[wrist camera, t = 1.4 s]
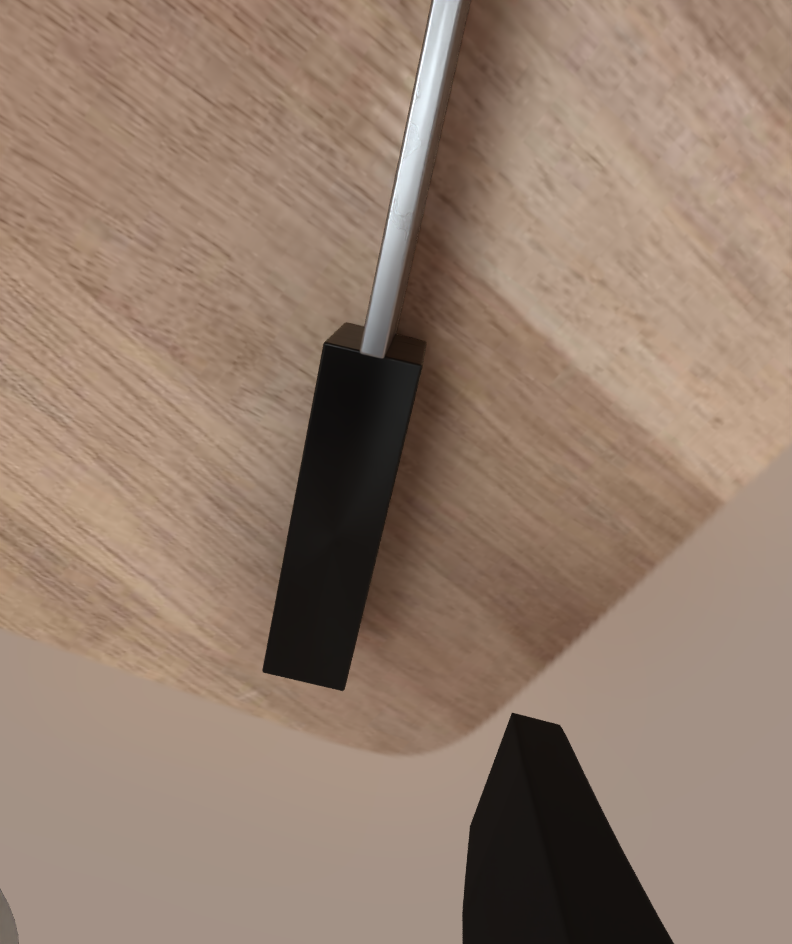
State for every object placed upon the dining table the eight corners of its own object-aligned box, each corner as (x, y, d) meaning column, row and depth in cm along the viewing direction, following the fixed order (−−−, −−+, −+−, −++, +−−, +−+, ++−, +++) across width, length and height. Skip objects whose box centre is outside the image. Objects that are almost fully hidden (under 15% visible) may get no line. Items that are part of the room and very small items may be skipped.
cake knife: (359, 623, 19) (341, 703, 16) (288, 606, 19) (257, 683, 16) (586, -321, 12) (634, -516, 9) (476, -349, 12) (486, -553, 9)
